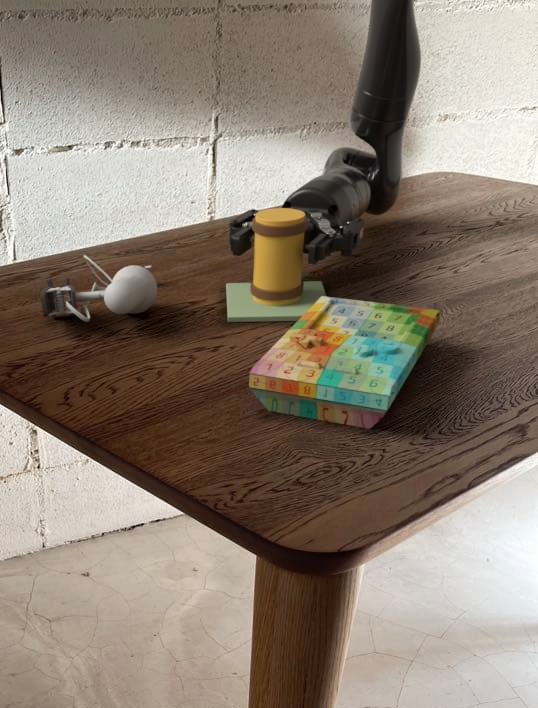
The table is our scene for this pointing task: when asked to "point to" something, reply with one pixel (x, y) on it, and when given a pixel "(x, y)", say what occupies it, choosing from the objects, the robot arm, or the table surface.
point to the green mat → (250, 311)
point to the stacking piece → (278, 256)
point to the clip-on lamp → (105, 293)
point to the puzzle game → (343, 360)
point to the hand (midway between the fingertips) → (273, 250)
